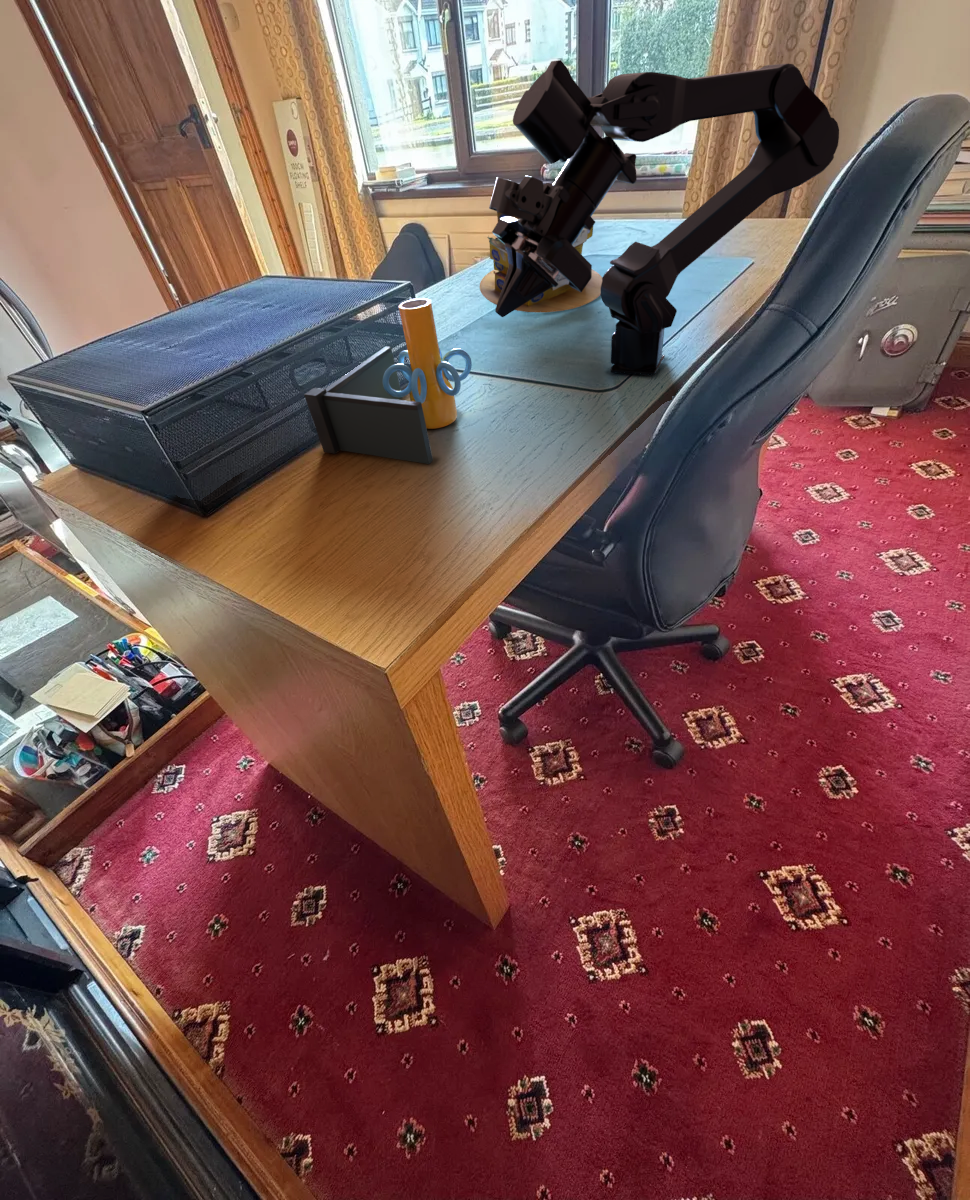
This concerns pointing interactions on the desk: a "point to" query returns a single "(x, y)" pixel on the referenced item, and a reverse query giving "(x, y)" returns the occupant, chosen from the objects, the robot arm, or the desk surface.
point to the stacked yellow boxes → (550, 299)
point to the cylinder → (427, 366)
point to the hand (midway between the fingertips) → (498, 314)
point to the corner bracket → (369, 414)
